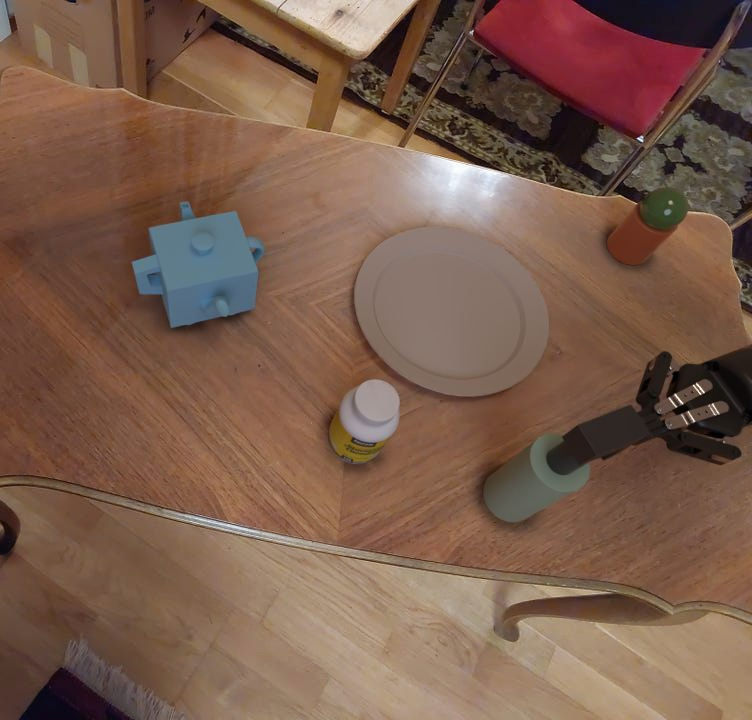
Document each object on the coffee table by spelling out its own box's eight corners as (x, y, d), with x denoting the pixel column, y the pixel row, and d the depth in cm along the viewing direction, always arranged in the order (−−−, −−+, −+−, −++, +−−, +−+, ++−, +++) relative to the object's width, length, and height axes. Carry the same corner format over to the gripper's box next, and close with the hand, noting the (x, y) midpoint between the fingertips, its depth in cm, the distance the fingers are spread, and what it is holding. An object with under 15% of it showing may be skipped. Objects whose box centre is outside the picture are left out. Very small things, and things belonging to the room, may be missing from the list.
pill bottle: (323, 460, 75) (342, 422, 65) (330, 409, 78) (349, 365, 68) (379, 470, 75) (406, 435, 65) (383, 419, 78) (410, 377, 68)
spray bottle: (534, 457, 78) (630, 386, 60) (561, 504, 75) (670, 444, 57) (473, 481, 76) (554, 415, 58) (499, 530, 73) (592, 477, 55)
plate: (382, 417, 78) (386, 411, 76) (330, 246, 89) (332, 237, 88) (573, 385, 83) (581, 378, 81) (501, 225, 94) (506, 216, 92)
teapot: (241, 232, 89) (245, 173, 79) (282, 344, 82) (293, 294, 72) (126, 255, 86) (115, 197, 76) (158, 374, 78) (150, 327, 68)
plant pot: (643, 234, 95) (694, 179, 85) (651, 267, 92) (705, 215, 82) (603, 229, 95) (649, 174, 85) (610, 262, 92) (658, 210, 82)
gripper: (739, 312, 68) (605, 361, 64) (828, 423, 63) (689, 484, 59) (692, 346, 75) (568, 392, 71) (769, 449, 70) (641, 506, 65)
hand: (623, 434), depth 65 cm, fingers closed
